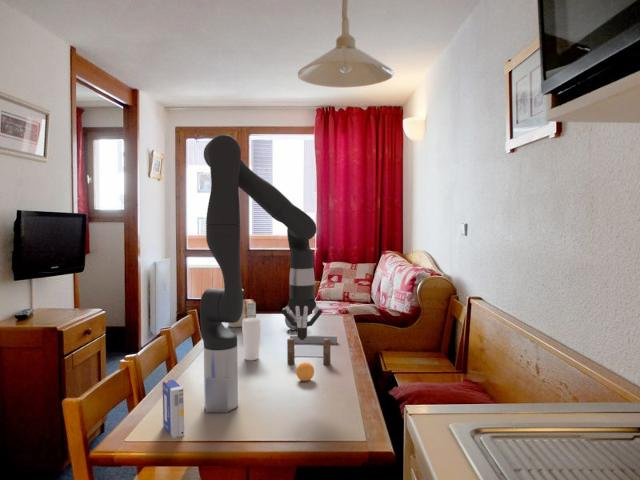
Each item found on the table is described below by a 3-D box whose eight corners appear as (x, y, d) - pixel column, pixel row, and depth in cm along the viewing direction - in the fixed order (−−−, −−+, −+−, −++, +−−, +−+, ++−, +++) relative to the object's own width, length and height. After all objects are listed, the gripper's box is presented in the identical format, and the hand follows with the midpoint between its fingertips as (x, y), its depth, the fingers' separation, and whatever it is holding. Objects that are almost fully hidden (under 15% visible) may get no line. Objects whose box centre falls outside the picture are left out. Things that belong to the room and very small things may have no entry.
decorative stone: (282, 328, 217) (282, 307, 216) (302, 326, 220) (302, 306, 220) (288, 333, 207) (288, 311, 207) (308, 331, 211) (308, 310, 210)
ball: (313, 384, 143) (313, 365, 143) (295, 383, 143) (295, 365, 143) (314, 377, 149) (314, 359, 149) (296, 377, 149) (296, 359, 149)
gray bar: (337, 343, 190) (337, 336, 190) (289, 343, 191) (289, 336, 191) (337, 342, 192) (337, 335, 192) (290, 341, 193) (290, 334, 193)
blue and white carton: (163, 426, 114) (162, 380, 114) (174, 423, 116) (173, 378, 115) (173, 438, 108) (172, 389, 107) (184, 435, 109) (183, 387, 109)
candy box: (244, 331, 210) (244, 299, 210) (253, 331, 212) (253, 298, 211) (247, 336, 202) (246, 302, 201) (256, 335, 203) (256, 302, 202)
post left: (294, 364, 162) (294, 340, 162) (287, 364, 162) (286, 340, 162) (294, 362, 165) (294, 338, 164) (287, 362, 165) (287, 338, 165)
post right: (330, 365, 162) (330, 340, 161) (323, 365, 162) (323, 340, 161) (330, 362, 164) (330, 338, 164) (323, 362, 164) (323, 338, 164)
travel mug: (245, 323, 226) (245, 288, 225) (243, 327, 218) (243, 290, 217) (229, 323, 226) (229, 288, 225) (227, 327, 218) (226, 291, 217)
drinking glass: (257, 362, 165) (256, 321, 165) (239, 361, 167) (239, 321, 166) (263, 356, 172) (262, 317, 171) (246, 355, 173) (246, 317, 173)
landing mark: (328, 357, 171) (328, 356, 171) (292, 356, 172) (292, 356, 172) (329, 346, 185) (329, 346, 185) (295, 346, 186) (295, 346, 186)
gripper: (278, 284, 132) (279, 342, 133) (323, 284, 131) (323, 343, 132) (281, 280, 139) (282, 335, 140) (324, 281, 139) (324, 336, 140)
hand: (302, 339), depth 136 cm, fingers closed
